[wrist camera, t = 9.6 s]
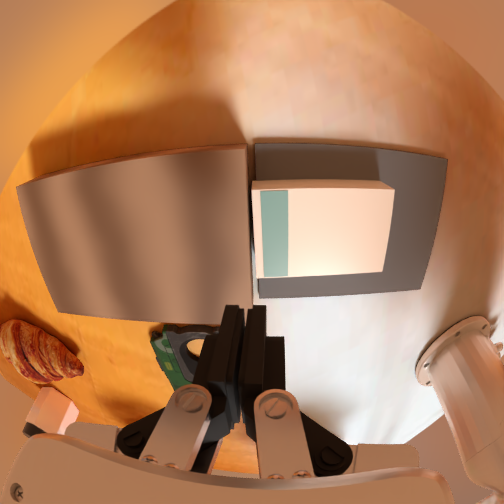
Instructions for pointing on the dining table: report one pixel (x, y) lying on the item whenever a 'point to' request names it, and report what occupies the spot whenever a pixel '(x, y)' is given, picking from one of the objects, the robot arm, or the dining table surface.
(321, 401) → the dining table surface
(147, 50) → the dining table surface
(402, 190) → the mat
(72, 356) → the croissant
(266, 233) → the cream box
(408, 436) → the dining table surface
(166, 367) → the green flat piece
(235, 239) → the board
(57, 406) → the jar
